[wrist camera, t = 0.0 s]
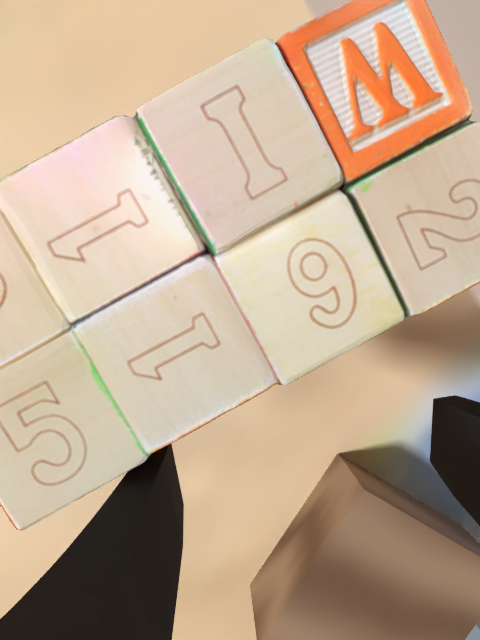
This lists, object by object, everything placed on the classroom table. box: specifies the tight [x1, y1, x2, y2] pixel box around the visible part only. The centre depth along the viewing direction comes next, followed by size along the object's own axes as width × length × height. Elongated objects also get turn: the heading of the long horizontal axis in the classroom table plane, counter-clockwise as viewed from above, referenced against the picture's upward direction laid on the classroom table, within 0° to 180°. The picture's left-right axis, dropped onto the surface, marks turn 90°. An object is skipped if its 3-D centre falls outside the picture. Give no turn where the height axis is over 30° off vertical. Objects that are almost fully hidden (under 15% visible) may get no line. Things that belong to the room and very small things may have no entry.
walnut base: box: [250, 454, 480, 640], centre depth 20 cm, size 10×10×4 cm
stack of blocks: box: [0, 0, 480, 530], centre depth 13 cm, size 21×6×12 cm, turn 118°
